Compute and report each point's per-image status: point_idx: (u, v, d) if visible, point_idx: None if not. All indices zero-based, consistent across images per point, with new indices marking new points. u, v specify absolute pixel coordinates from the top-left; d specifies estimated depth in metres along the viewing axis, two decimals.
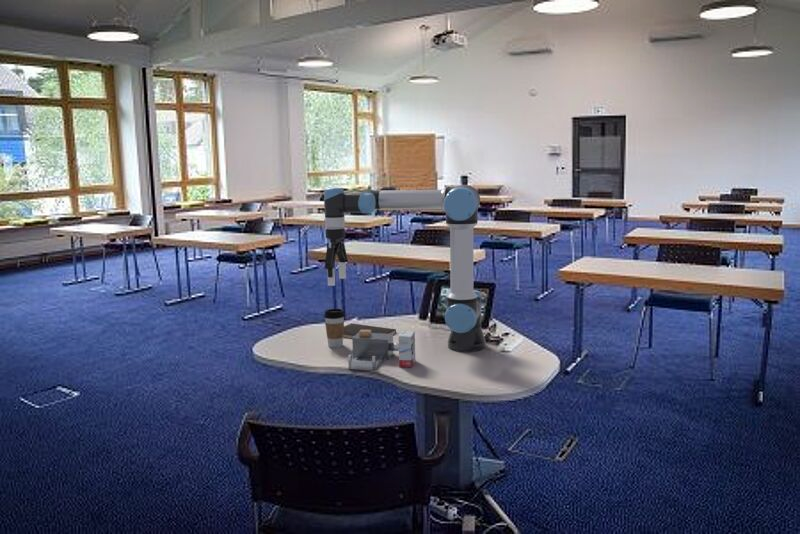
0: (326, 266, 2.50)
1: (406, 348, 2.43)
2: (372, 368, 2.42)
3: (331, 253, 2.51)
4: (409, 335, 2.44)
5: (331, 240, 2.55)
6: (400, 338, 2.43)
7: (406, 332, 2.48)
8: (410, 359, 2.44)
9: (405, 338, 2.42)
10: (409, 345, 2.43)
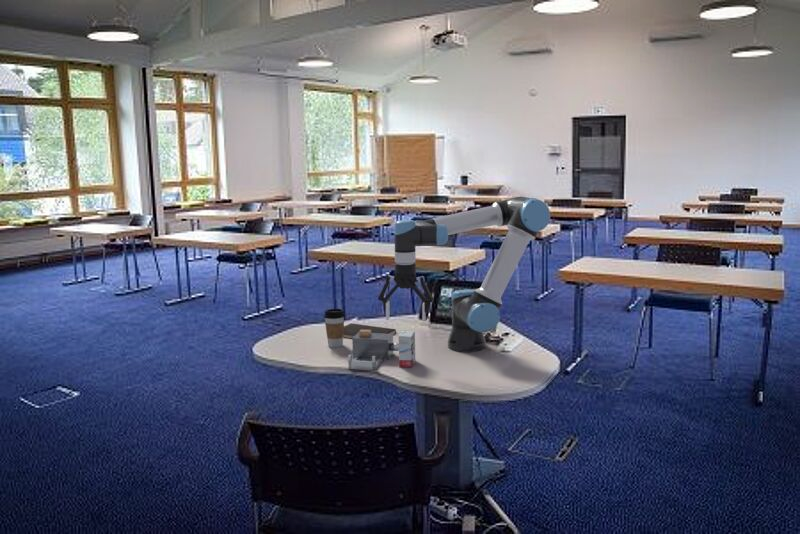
0: None
1: (406, 348, 2.43)
2: (372, 368, 2.42)
3: (384, 286, 2.44)
4: (409, 335, 2.44)
5: None
6: (400, 338, 2.43)
7: (406, 332, 2.48)
8: (410, 359, 2.44)
9: (405, 338, 2.42)
10: (409, 345, 2.43)
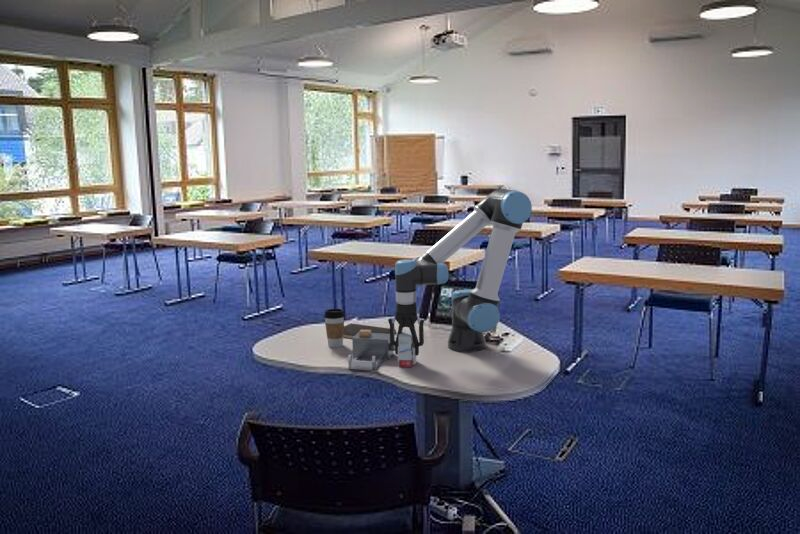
0: None
1: (406, 348, 2.43)
2: (372, 368, 2.42)
3: (390, 329, 2.47)
4: (409, 335, 2.44)
5: None
6: (400, 338, 2.43)
7: (406, 332, 2.48)
8: (410, 359, 2.44)
9: (405, 338, 2.42)
10: (409, 345, 2.43)
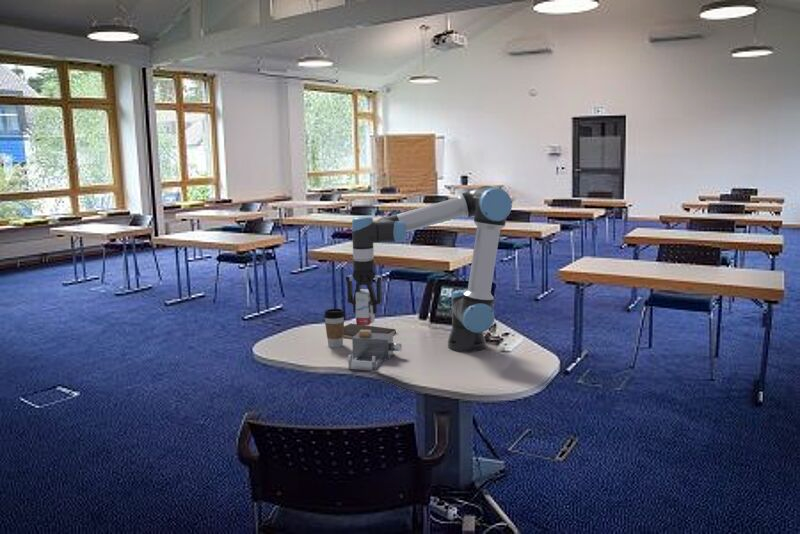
0: None
1: (363, 305, 2.41)
2: (372, 368, 2.42)
3: None
4: (366, 293, 2.42)
5: None
6: (357, 295, 2.41)
7: (364, 290, 2.46)
8: (367, 317, 2.42)
9: (362, 295, 2.40)
10: (366, 302, 2.41)
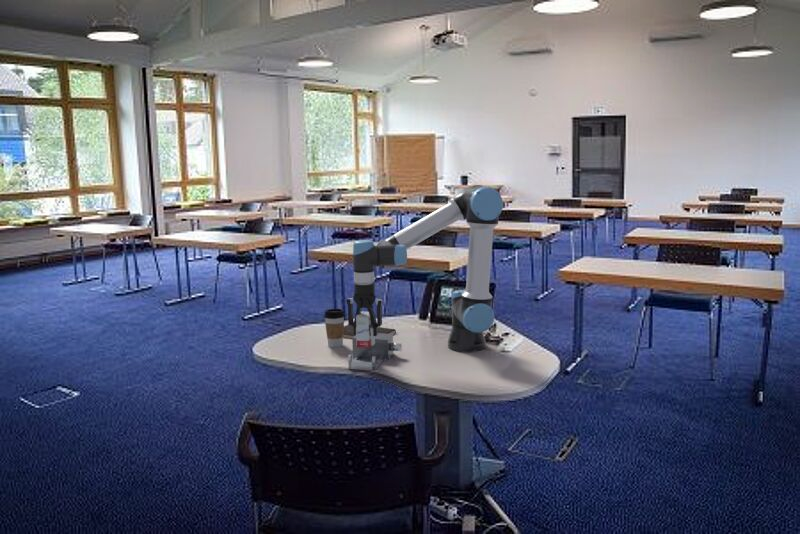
0: None
1: (364, 328, 2.43)
2: (372, 368, 2.42)
3: None
4: (367, 316, 2.43)
5: None
6: (358, 318, 2.42)
7: (364, 313, 2.47)
8: (368, 340, 2.43)
9: (362, 318, 2.42)
10: (366, 325, 2.42)
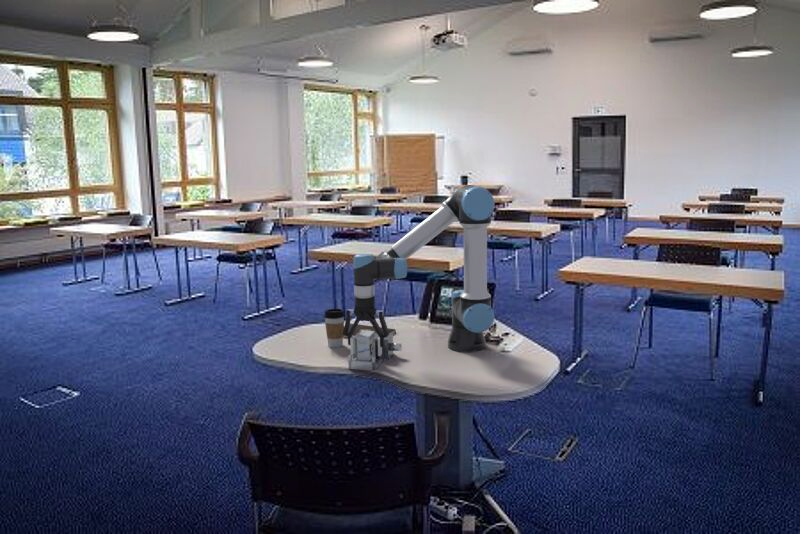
0: None
1: (364, 348, 2.44)
2: (372, 368, 2.42)
3: (346, 320, 2.47)
4: (368, 335, 2.45)
5: None
6: (358, 338, 2.44)
7: (365, 332, 2.49)
8: (368, 359, 2.44)
9: (363, 338, 2.43)
10: (367, 345, 2.44)
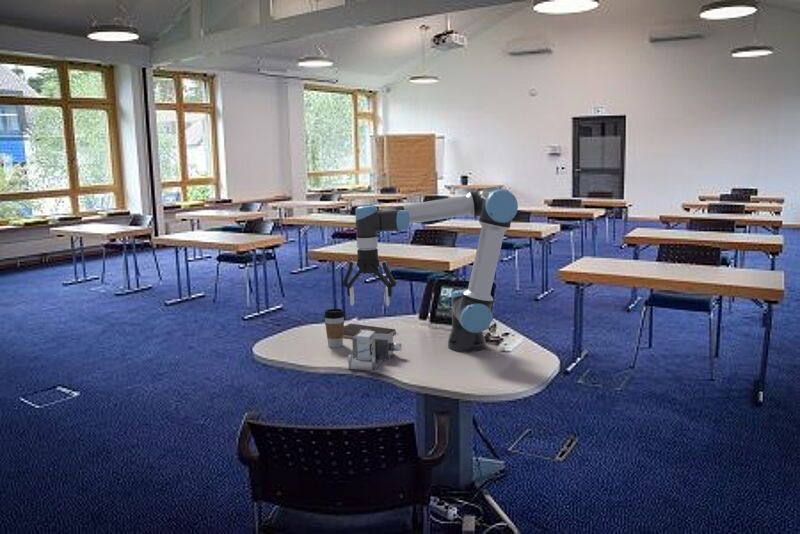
0: None
1: (364, 348, 2.44)
2: (372, 368, 2.42)
3: (347, 272, 2.46)
4: (368, 335, 2.45)
5: None
6: (358, 338, 2.44)
7: (366, 332, 2.49)
8: (368, 359, 2.44)
9: (363, 338, 2.43)
10: (367, 345, 2.44)
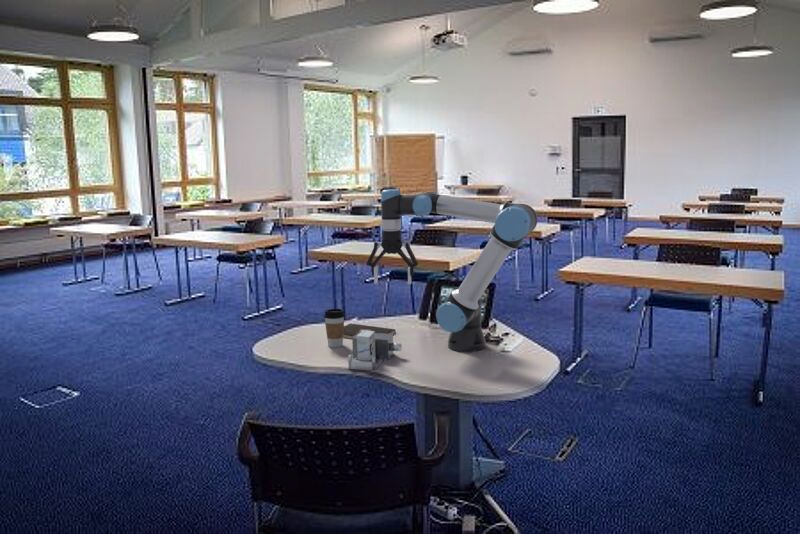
0: None
1: (364, 348, 2.44)
2: (372, 368, 2.42)
3: (372, 252, 2.61)
4: (368, 335, 2.45)
5: None
6: (358, 338, 2.44)
7: (365, 332, 2.49)
8: (368, 359, 2.44)
9: (363, 338, 2.43)
10: (367, 345, 2.44)
